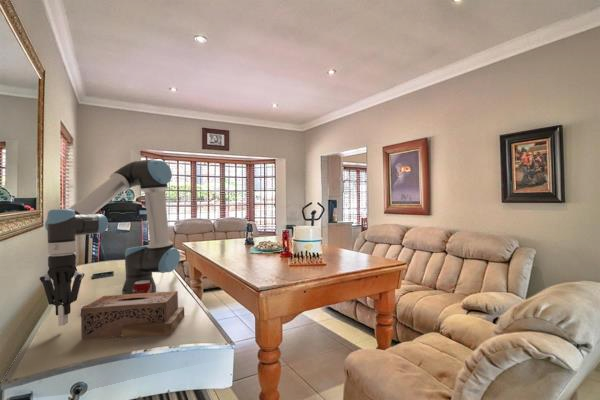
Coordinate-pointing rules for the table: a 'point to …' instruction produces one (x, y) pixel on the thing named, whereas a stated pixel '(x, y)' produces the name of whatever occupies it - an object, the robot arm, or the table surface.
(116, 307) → the tissue box cover
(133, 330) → the walnut fence
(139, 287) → the soda can
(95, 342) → the table surface
